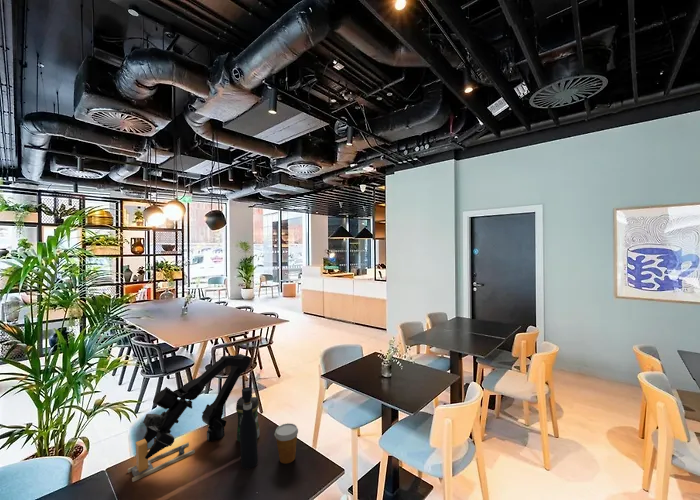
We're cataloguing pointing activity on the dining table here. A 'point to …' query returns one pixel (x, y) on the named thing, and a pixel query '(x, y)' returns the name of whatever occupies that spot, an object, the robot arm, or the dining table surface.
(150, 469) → the rail board
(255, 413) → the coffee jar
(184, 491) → the dining table surface
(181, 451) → the keeper hook
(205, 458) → the dining table surface
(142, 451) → the tan slider block
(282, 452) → the disposable coffee cup
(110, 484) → the dining table surface
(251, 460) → the wine bottle
